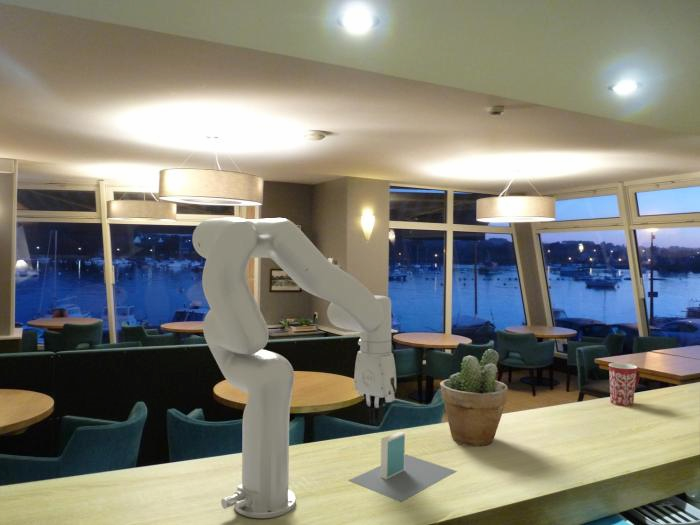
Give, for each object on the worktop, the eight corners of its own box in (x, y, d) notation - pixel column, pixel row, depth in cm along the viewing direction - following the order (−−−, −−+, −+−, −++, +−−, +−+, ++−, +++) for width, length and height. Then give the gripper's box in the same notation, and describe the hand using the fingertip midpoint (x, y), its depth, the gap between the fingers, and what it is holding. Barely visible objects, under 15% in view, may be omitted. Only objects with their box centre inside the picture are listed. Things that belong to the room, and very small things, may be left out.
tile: (386, 479, 125) (387, 440, 125) (380, 477, 126) (381, 438, 126) (404, 470, 130) (405, 433, 130) (398, 468, 131) (399, 431, 131)
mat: (401, 503, 114) (401, 501, 114) (348, 482, 124) (348, 480, 124) (456, 472, 130) (456, 471, 130) (405, 455, 140) (405, 454, 140)
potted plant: (496, 456, 141) (498, 360, 140) (428, 443, 150) (430, 352, 149) (513, 436, 157) (515, 349, 156) (451, 424, 166) (453, 343, 165)
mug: (623, 408, 186) (624, 369, 186) (601, 401, 195) (602, 363, 194) (649, 404, 191) (650, 366, 191) (627, 397, 200) (628, 361, 199)
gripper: (342, 345, 134) (342, 419, 135) (390, 353, 124) (390, 433, 125) (362, 340, 139) (362, 411, 140) (410, 348, 129) (410, 424, 130)
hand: (376, 421), depth 132 cm, fingers closed
